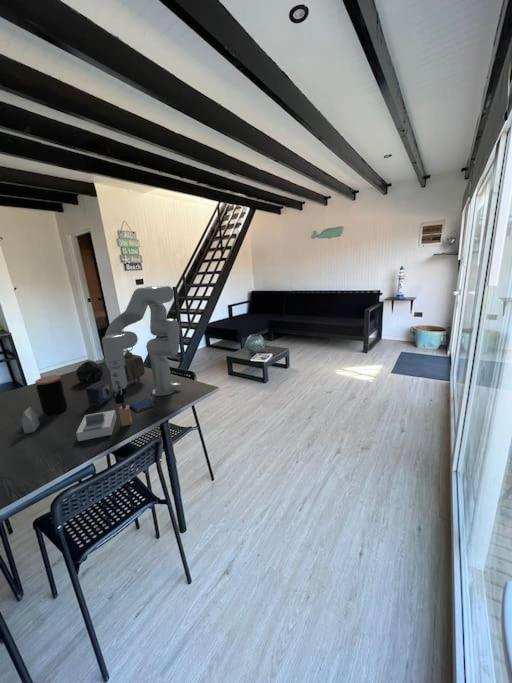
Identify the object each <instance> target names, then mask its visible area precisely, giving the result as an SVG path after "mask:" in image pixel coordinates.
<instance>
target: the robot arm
mask: <svg viewBox="0 0 512 683" xmlns="http://www.w3.org/2000/svg"><path fill="white" fill-rule="evenodd" d="M174 296H175V292H174V289H173V288H172V287H171V286H170V285H153V286H152V285H151V286H145V287H139V288H136V289H135V290H134V291H133V293H132V294H131V297H130V300H129V302H128V304H127V307H126V308H125V310H124V311H123V312H122V313H120V314H119V315H118V316H116V317H115V318H114V319H113V320H112V321H111V322H110V323H109V324H108V327H107V328H106V329H107V330H106V331H105V333H104V334H105V335H104V336H103V337H102V339H101V342H102V348H103V354H104V360H105V366H106V368H107V369H108V370H109V374H110V381H111V387H112V389H113V391H114V398H115V403H116V405H120V404H121V405H122V403H125V398H124V396H125V395H127V384H128V381H127V378H126V373H125V369H124V366H125V359H124V355H125V352H123V351H124V350H125V349H126V350H127V349H132V347H133V348H134V346H136V345H137V344H138V340H139V338H138V336H137V334H136V333H135V332H133V331H128V330H127V331H126V330H125V331H123V330H124V329H125V328H126V327H129V326H130V325H133V324H135V323H137V322H140V321H141V320H142V319H144V318H145V317H144V316H145V313H146V311H147V309H148V308H149V310H150V317H149V318H150V324H149V325H150V326H149V328H150V329H149V331H150V334H151V335H152V336H155V337H159V338H151V339H149V340H148V341H147V342H146V351H147V354H148V357H149V360H150V366H151V372H152V381H153V385H154V389H152V395H153V396H156V397H163V396H165V397H166V396H169V395H171V394H173V393H175V391H176V388H181V384H180V383H178V382H173V381H172V377H171V370H170V361H169V359H168V358H167V357H174V356H176V355H177V354H179V351H180V350H179V349H180V336H181V335H180V324H179V321H178V320H176V319H174V318H167V315H168V314H167V308H166V306H165V305H164V304H166V303H170V302H172V301H173V298H174ZM162 337H167V338H162Z"/></svg>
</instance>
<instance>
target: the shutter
mask: <svg viewBox="0 0 512 683" xmlns="http://www.w3.org/2000/svg"><path fill="white" fill-rule="evenodd" d="M97 413H98V414H95V413H92V414H93V415H89V414H86V415H87V416H85V415H84V416H85V418H86V425H85V427H84V430H83V431H84V432H85V431H90V430H96V429H101V428H102V427H103V424H104V421H105V419H104V414H103V413H101V412H97Z"/></svg>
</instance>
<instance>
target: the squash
mask: <svg viewBox="0 0 512 683" xmlns="http://www.w3.org/2000/svg"><path fill="white" fill-rule="evenodd" d="M103 370H104V369H103V368H102V365H100V364H99V363H97V362H94V361H92V360H91V361H84V362H83V363H82V364H81V365H79V366H78V368H76V373H75V374H76V377H77V379H78V381H79V382H80V383H86V384H92V383H97V382H99V381H101V379H102V377H103V373H104V372H103Z"/></svg>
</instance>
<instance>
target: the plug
mask: <svg viewBox="0 0 512 683" xmlns="http://www.w3.org/2000/svg"><path fill="white" fill-rule="evenodd" d="M126 404H127V403H126V402H124V403H121V406H119V409H118V413H119V418H120V423H121V426H122V427H126V426H129V425H132V422H133V419H132V412H131V409H130V408H131V407H130V406H129V405H130V404H127V405H126Z"/></svg>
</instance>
